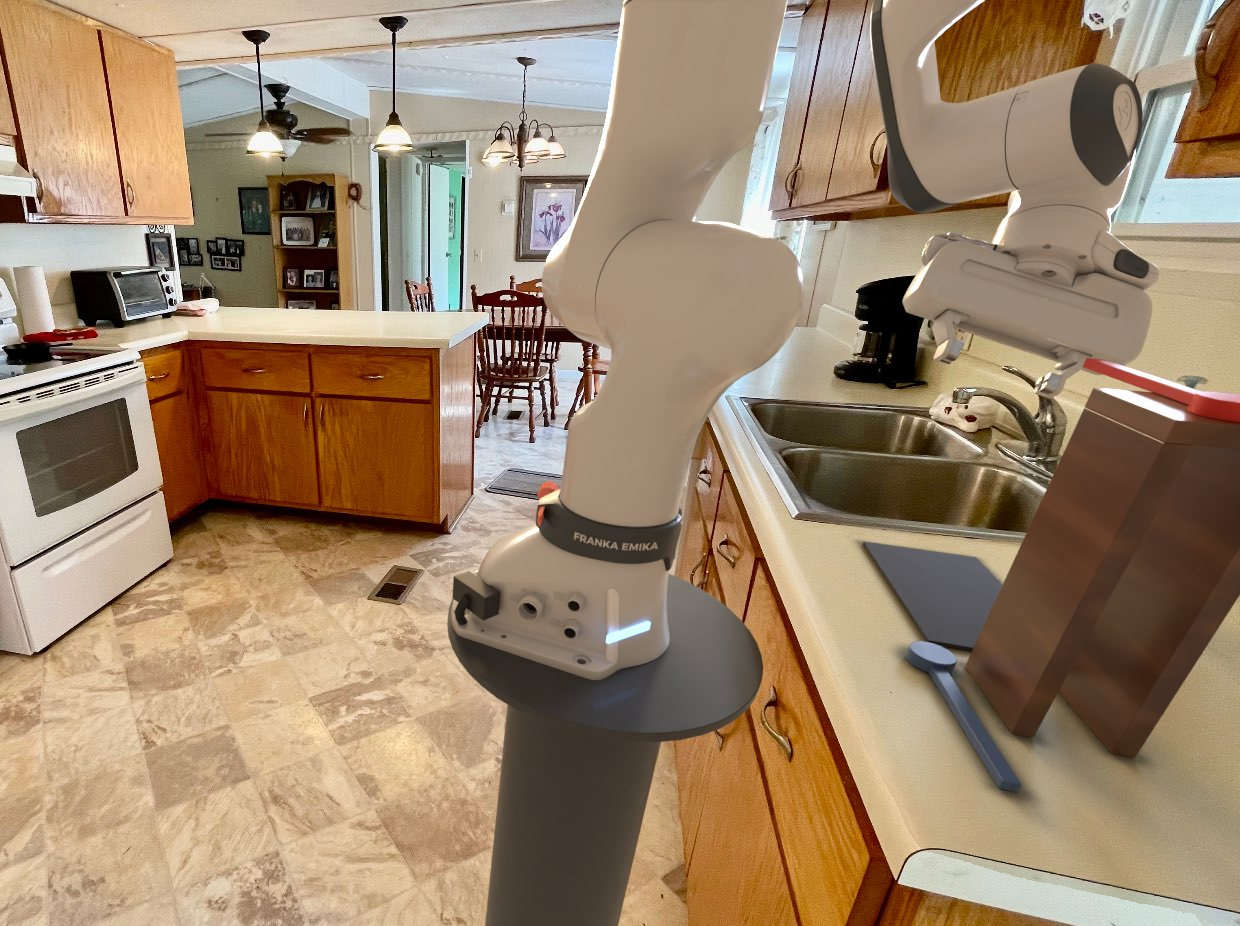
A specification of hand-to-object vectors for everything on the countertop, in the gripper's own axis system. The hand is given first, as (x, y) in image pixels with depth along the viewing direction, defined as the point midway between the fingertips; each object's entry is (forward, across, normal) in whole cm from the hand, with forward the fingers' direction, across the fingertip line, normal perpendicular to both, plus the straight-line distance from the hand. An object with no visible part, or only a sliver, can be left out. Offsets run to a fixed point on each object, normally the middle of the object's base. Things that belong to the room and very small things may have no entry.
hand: (994, 376), depth 66 cm
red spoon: (+7, +3, -16) cm, 18 cm away
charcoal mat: (+19, +9, +10) cm, 24 cm away
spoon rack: (+30, +10, -5) cm, 32 cm away
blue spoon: (+34, +3, -6) cm, 34 cm away
